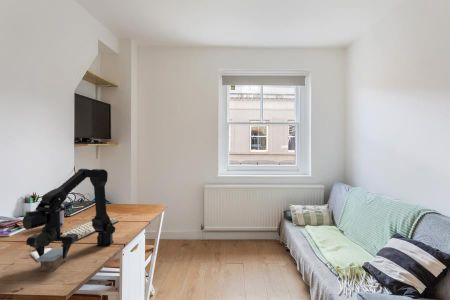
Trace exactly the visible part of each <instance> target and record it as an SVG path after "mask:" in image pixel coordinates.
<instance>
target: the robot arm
mask: <svg viewBox="0 0 450 300" xmlns="http://www.w3.org/2000/svg"><path fill="white" fill-rule="evenodd" d="M108 174H109V173H108V171H107V169H101V168H99V169H98V168H93V169H88V168H80V169H78V170H77V171H76V173H74V174H73V175H72V176H70V177H68V179H67V180H66V181H64V182H63V183H62V184H61V185H60V186H58V187H57V188H54V189H51V190H50V191H47V192H46V193H44V194H43V195H42V196H41V200H40V202H39V204H37V206H36V208H35V210H32V211H31V210H30V211H25V214H24V216H23V218H22V222H21V223H22V227H23V228H24V229H25V230H32V229H36V228H39V227H42V226H43V227H42V229H41V233H36V234H33V235H30V236H29V237H27V238H26V241H25V242H26V243H25V244H26V246H29V247H30V248H33V249H35V251H37V253H38V255H39V257H40V256H42V255H43V254H44V249H46V247H48V246H49V245H50V243H54V242H61V243H62V244H61V247H62V249H63V259H65V260H66V257H67V255H68V252H69V250H70V248H71V246H72V245H73V244H74V243H75V242H77V241H79V240H78V235H77V234H67V235H66V236H61V235H62V232H63V231H61V230H62V228H61V226H62V223H60V211H63V210H64V211H65V210H66V208H65V207H64V208H63V207H62V206H61V204H62V205H63V203H64V202H65V201H66V199H67V197H68V195H69V194H70V193H72V191H73V190H74V189H75V188H76V187H78V186H79V185H80V184H81V183H83V181H84V180H86V179H87V178H89V181H90V183H91V184H92V187H93V191H94V206H95V216H94V217H93V218H91V219H92V226H93V228H94V229H95V231H96V233H97V236H96V237H97V238H96V240H97V241H96V243H97V245H96V247H110V246H111V245H112V244H113V243H114V242H115V240H113V239H114V238H113V234H114V233H115V231H116V229H117V228H116V226H114V225H112V224H111V221H110V218H111V217H110V216H109V215H108V213H107V201H106V187H105V186H106V184H107V182H108ZM48 207H49V208H48ZM96 233H95V234H96Z"/></svg>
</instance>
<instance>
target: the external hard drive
mask: <svg viewBox="0 0 450 300" xmlns="http://www.w3.org/2000/svg"><path fill="white" fill-rule="evenodd" d="M51 249H52V248H51V247H47V248H46V247H45V248H44V254H45V253H47V252H48V251H50V250H51ZM30 255H31V256H32V258H33V259H35V260H36V261H37V258H39V255H38V253H37V251H36V250H35V251H31V252H30ZM37 263H40V262H39V261H37Z"/></svg>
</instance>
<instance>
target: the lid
mask: <svg viewBox="0 0 450 300" xmlns="http://www.w3.org/2000/svg"><path fill="white" fill-rule="evenodd" d="M62 255H63V248H51V250H50V251H48V252H47V253H45V254H43V255H42V256H40V257H39V258H37V260H36V261H37V262H38V261H40V262H41V261H55V260H56V259H57V258H59V257H60V256H62Z"/></svg>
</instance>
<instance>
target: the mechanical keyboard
mask: <svg viewBox="0 0 450 300" xmlns="http://www.w3.org/2000/svg"><path fill="white" fill-rule="evenodd" d="M109 218H110V221H111V224H112V225H113V226H114V225H116V224H118V223H120V221H119V219H118V218H111V217H109ZM92 219H93V218H91V219H90V220H87V221H84V222H82V223H80V224H77V225H75V226H73V227H71V228H68V229H66V230H64V231H61V232H62V235H61V236H66V235H67V234H77V235H78V240H77V241H79V240H82V239H85V238H87V237H90V236H92V235H95V234H96V231H95V229H94V228H93V226H92Z"/></svg>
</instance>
